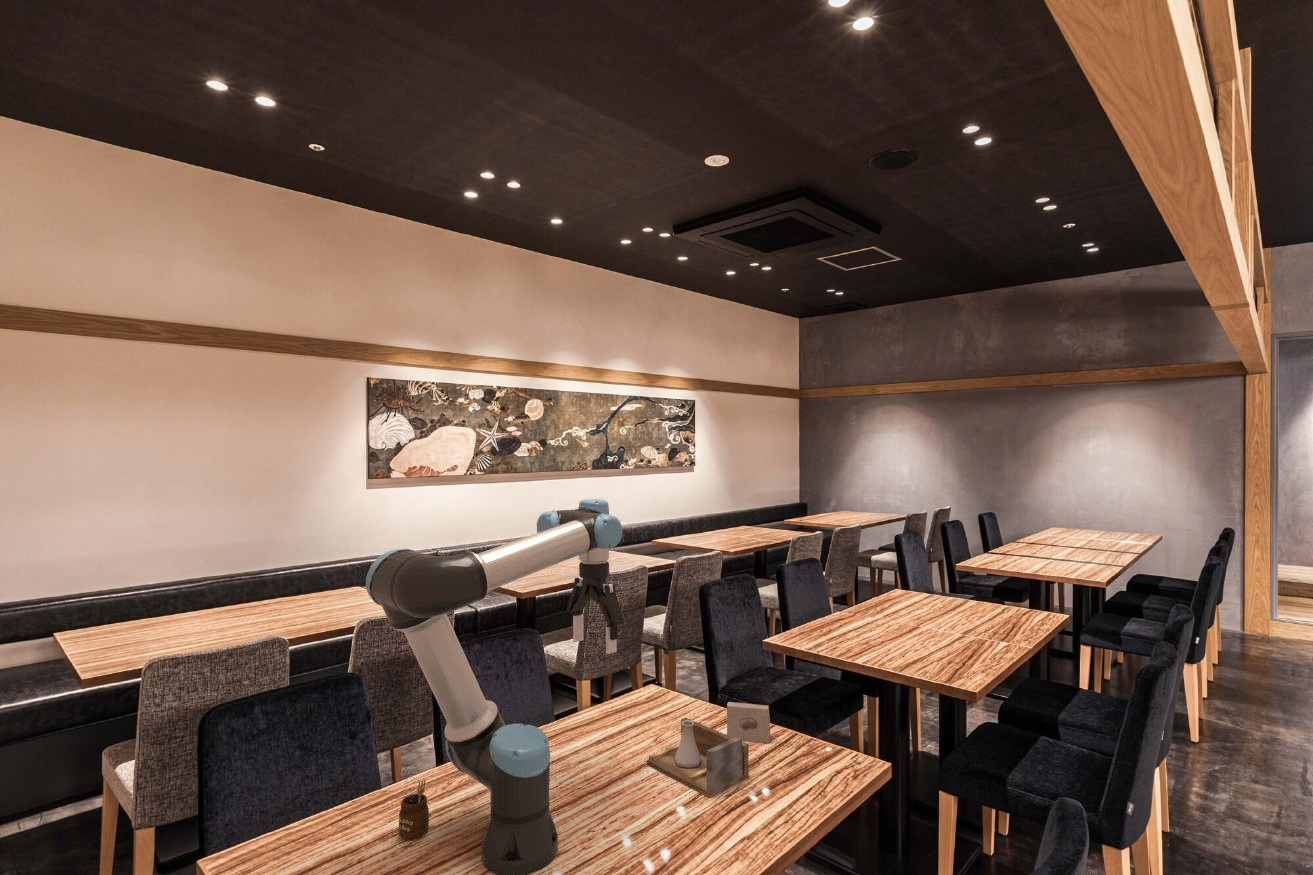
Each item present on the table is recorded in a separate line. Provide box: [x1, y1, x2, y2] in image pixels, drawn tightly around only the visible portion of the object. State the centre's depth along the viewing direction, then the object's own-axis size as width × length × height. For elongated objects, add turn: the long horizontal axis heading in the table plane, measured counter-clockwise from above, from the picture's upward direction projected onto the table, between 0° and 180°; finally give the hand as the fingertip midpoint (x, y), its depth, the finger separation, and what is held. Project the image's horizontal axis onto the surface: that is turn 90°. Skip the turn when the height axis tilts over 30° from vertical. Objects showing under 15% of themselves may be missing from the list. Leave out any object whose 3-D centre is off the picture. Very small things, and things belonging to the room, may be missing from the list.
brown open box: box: [646, 717, 750, 799], centre depth 164 cm, size 14×22×10 cm, turn 42°
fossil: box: [726, 701, 772, 744], centre depth 183 cm, size 12×4×10 cm, turn 78°
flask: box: [674, 720, 702, 768], centre depth 167 cm, size 7×7×10 cm
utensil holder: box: [398, 776, 430, 841], centre depth 138 cm, size 6×6×12 cm
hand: (594, 646), depth 163 cm, fingers open, 13 cm apart
